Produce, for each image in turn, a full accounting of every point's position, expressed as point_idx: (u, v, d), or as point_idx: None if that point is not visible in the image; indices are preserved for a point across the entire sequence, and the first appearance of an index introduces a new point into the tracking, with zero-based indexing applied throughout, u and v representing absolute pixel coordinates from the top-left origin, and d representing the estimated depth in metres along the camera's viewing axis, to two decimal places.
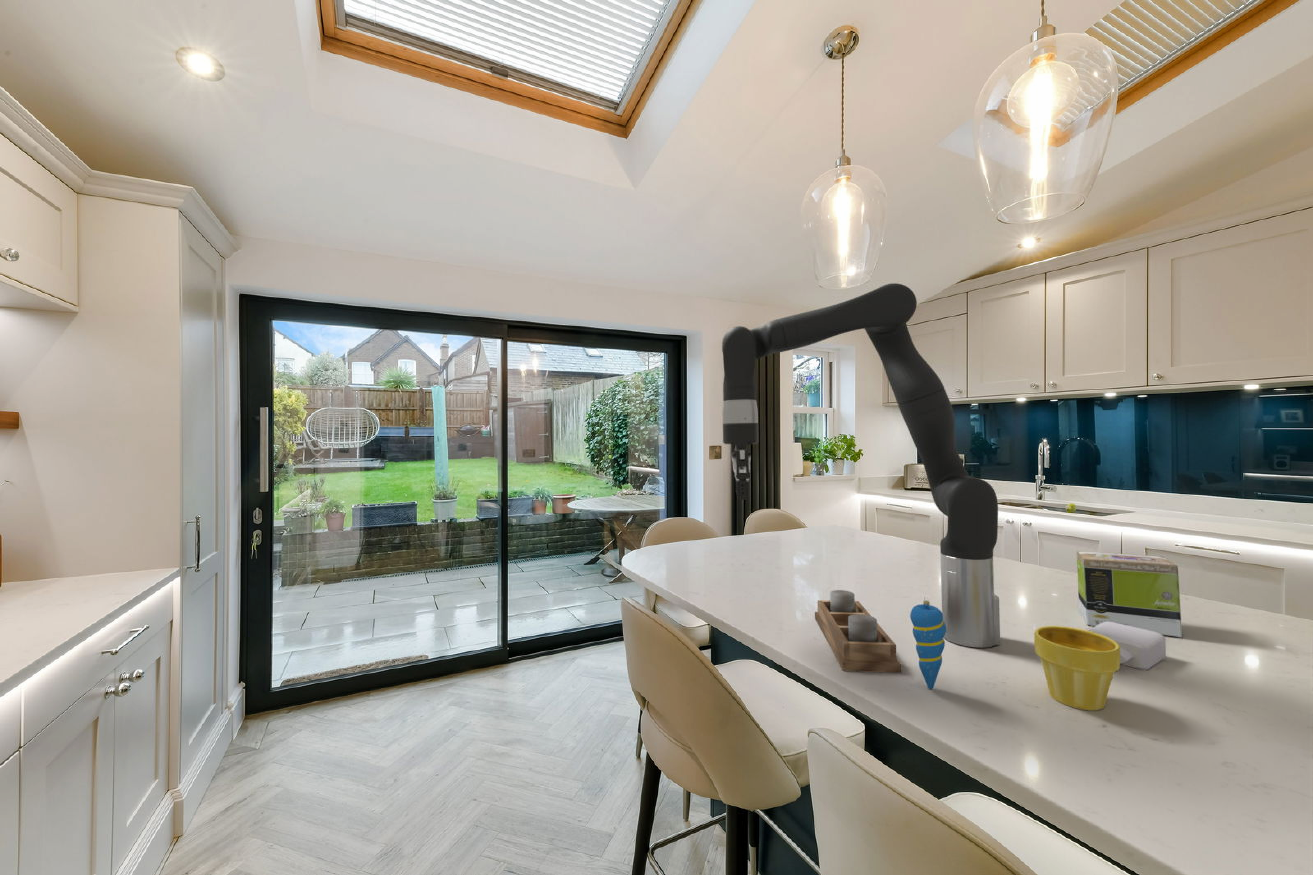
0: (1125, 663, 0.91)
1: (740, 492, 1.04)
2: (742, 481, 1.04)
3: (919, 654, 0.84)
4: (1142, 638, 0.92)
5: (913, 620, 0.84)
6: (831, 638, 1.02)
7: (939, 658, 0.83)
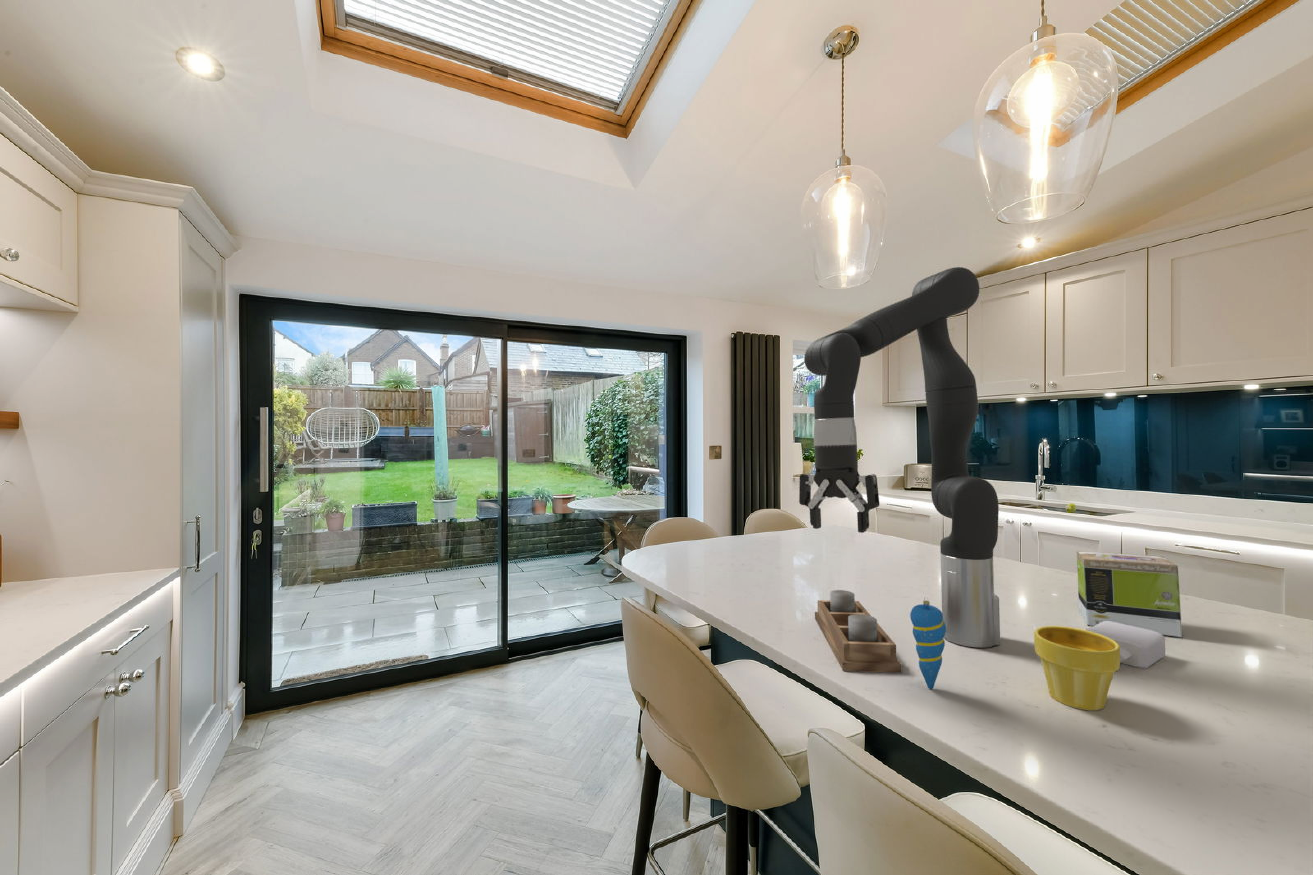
0: (1124, 662, 0.91)
1: (866, 524, 0.91)
2: (867, 511, 0.91)
3: (919, 654, 0.84)
4: (1141, 637, 0.92)
5: (913, 620, 0.84)
6: (831, 638, 1.02)
7: (939, 658, 0.83)
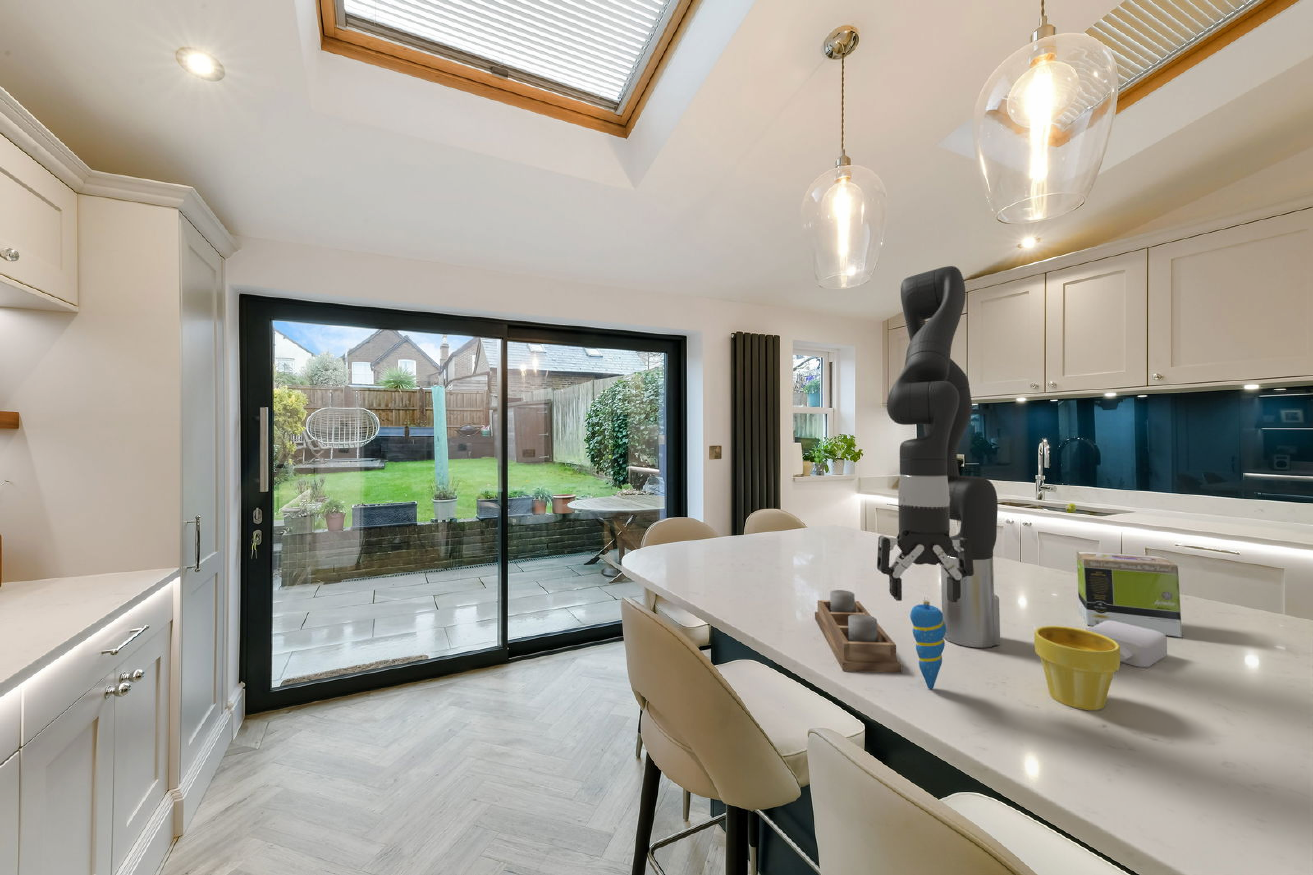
0: (1125, 661, 0.92)
1: None
2: None
3: (919, 654, 0.84)
4: (1142, 636, 0.92)
5: (913, 620, 0.84)
6: (831, 638, 1.02)
7: (939, 658, 0.83)
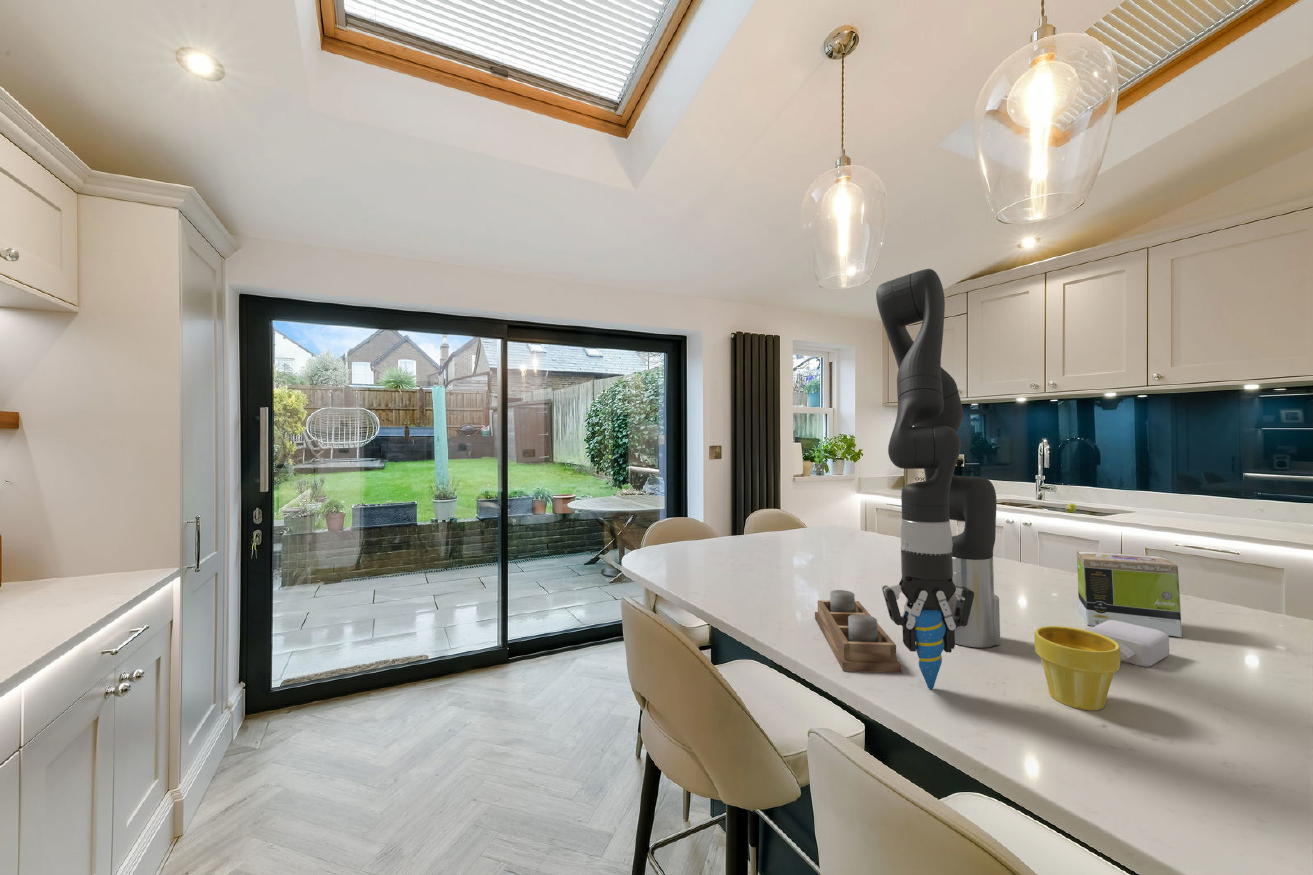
0: (1127, 660, 0.92)
1: None
2: None
3: (919, 654, 0.84)
4: (1144, 636, 0.93)
5: None
6: (831, 638, 1.02)
7: (939, 658, 0.83)
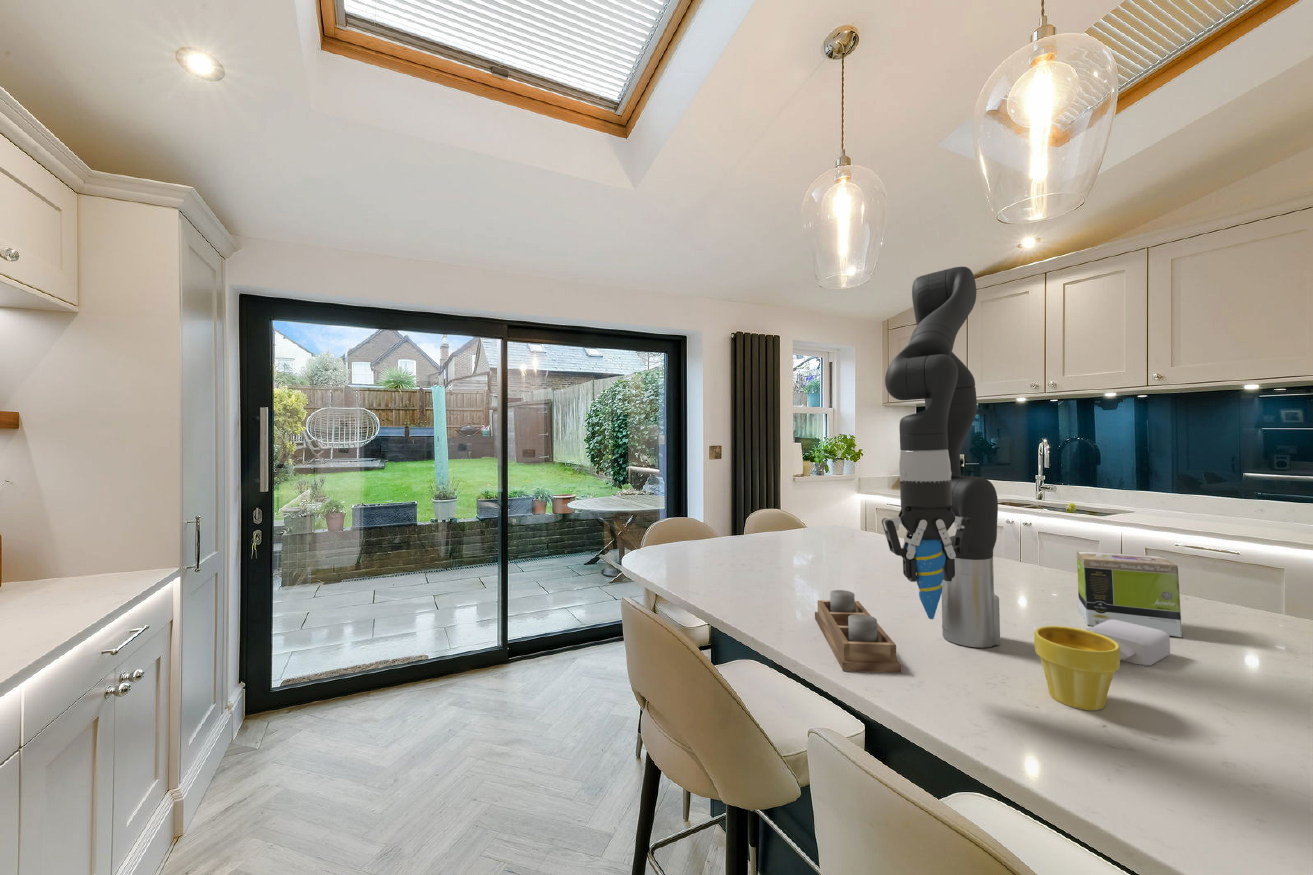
0: (1127, 660, 0.92)
1: None
2: None
3: (919, 584, 0.84)
4: (1145, 635, 0.93)
5: None
6: (831, 638, 1.02)
7: (939, 587, 0.83)
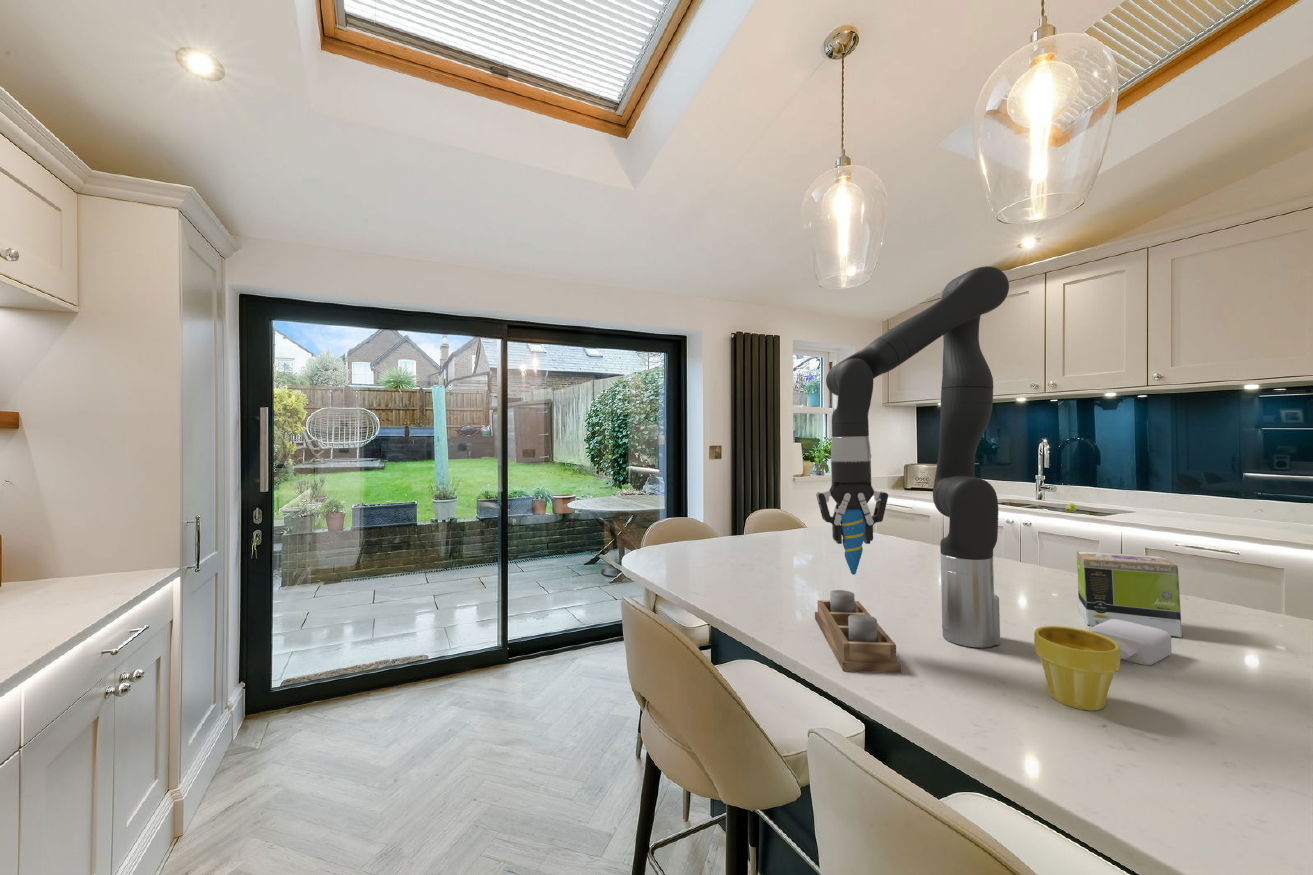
0: (1128, 659, 0.92)
1: None
2: None
3: (844, 546, 1.03)
4: (1146, 635, 0.93)
5: None
6: (831, 638, 1.02)
7: (860, 548, 1.02)
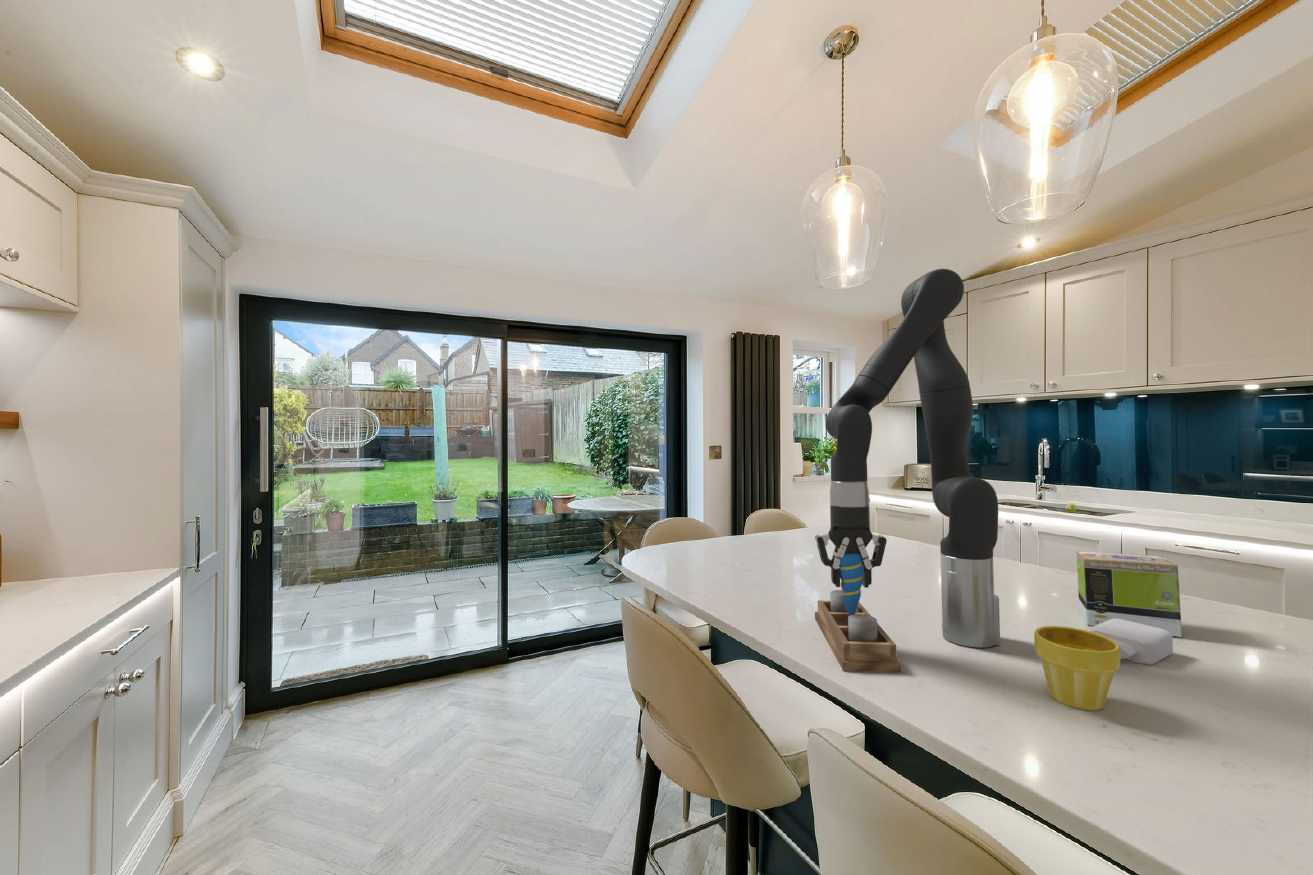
0: (1129, 658, 0.93)
1: None
2: None
3: (843, 589, 1.04)
4: (1147, 634, 0.93)
5: None
6: (831, 638, 1.02)
7: (858, 591, 1.02)
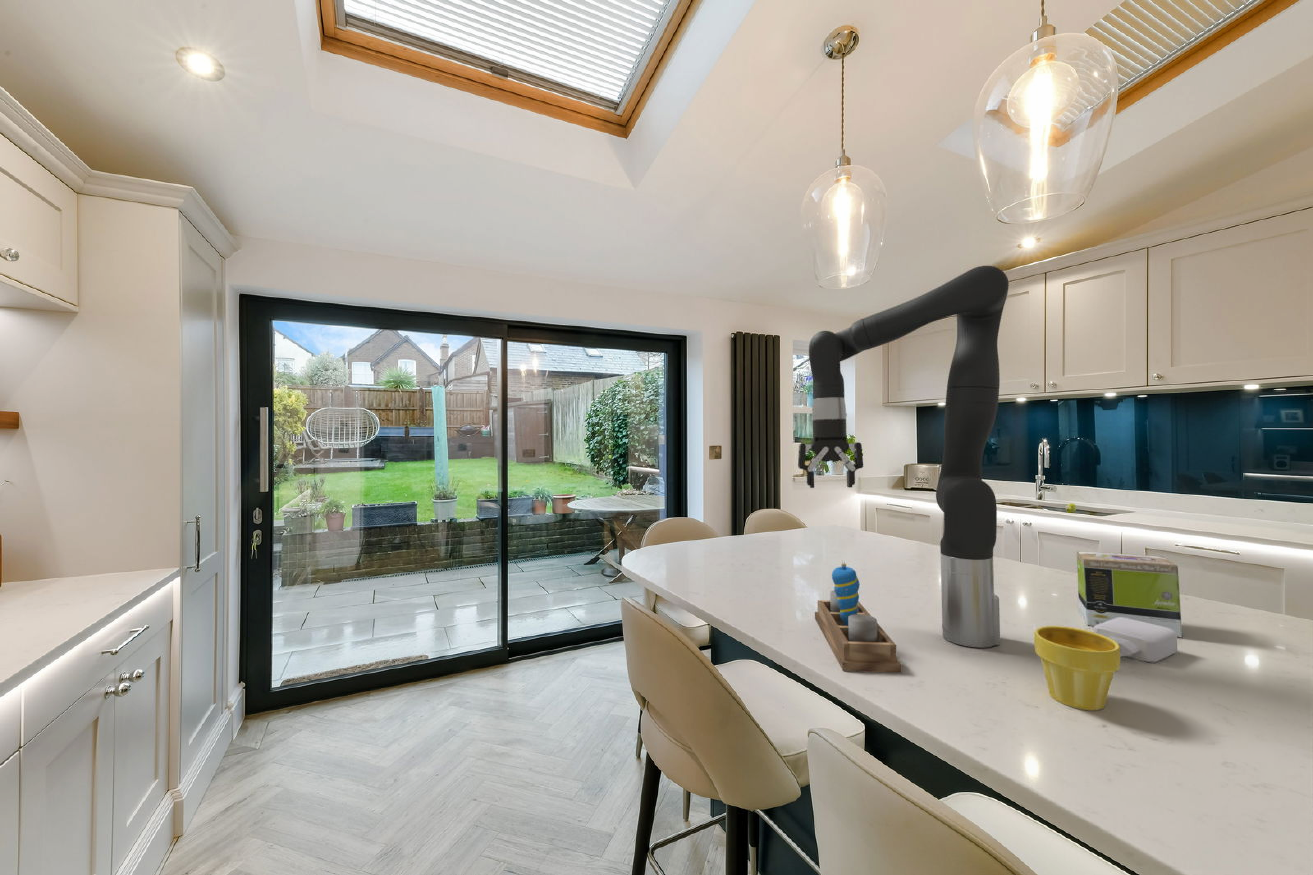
0: (1133, 656, 0.93)
1: None
2: (854, 470, 1.18)
3: (839, 606, 1.04)
4: (1151, 632, 0.94)
5: (833, 579, 1.04)
6: (831, 638, 1.02)
7: (854, 608, 1.03)
